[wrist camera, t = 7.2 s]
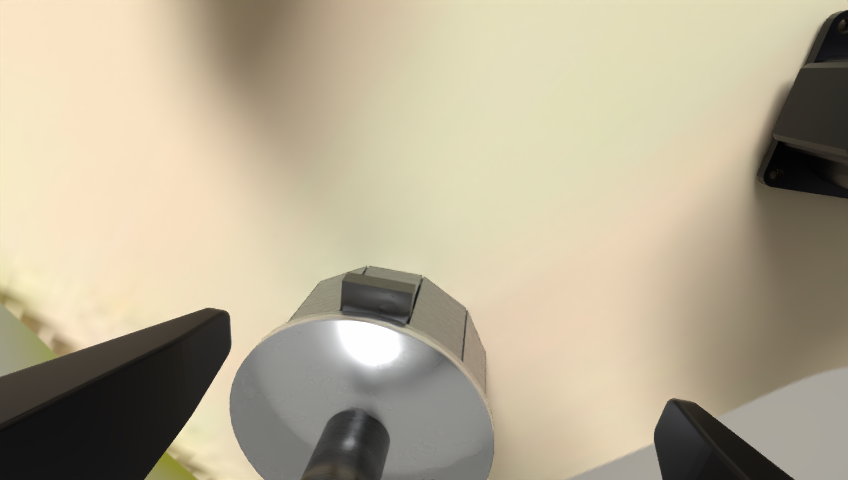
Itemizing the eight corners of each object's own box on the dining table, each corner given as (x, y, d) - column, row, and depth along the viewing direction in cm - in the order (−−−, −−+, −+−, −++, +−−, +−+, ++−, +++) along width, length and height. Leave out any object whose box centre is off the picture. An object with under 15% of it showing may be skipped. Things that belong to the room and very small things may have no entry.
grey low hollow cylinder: (506, 265, 21) (511, 319, 16) (461, 463, 26) (455, 545, 22) (294, 228, 22) (243, 269, 17) (292, 426, 27) (252, 498, 23)
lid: (519, 341, 17) (533, 467, 11) (469, 536, 21) (463, 692, 16) (232, 287, 18) (122, 380, 12) (244, 485, 22) (167, 615, 17)
